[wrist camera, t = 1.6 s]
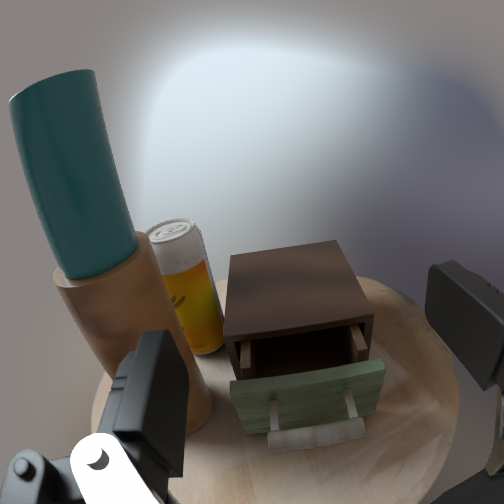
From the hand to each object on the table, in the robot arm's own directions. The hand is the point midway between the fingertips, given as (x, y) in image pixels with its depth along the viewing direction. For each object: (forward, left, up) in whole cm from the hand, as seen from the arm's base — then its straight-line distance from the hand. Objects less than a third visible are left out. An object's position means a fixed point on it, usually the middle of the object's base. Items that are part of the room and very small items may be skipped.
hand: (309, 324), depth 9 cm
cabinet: (+1, +18, -20) cm, 27 cm away
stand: (-12, +10, -20) cm, 25 cm away
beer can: (-10, +20, -20) cm, 30 cm away
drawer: (+1, +11, -19) cm, 21 cm away
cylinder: (-12, +10, -2) cm, 16 cm away
